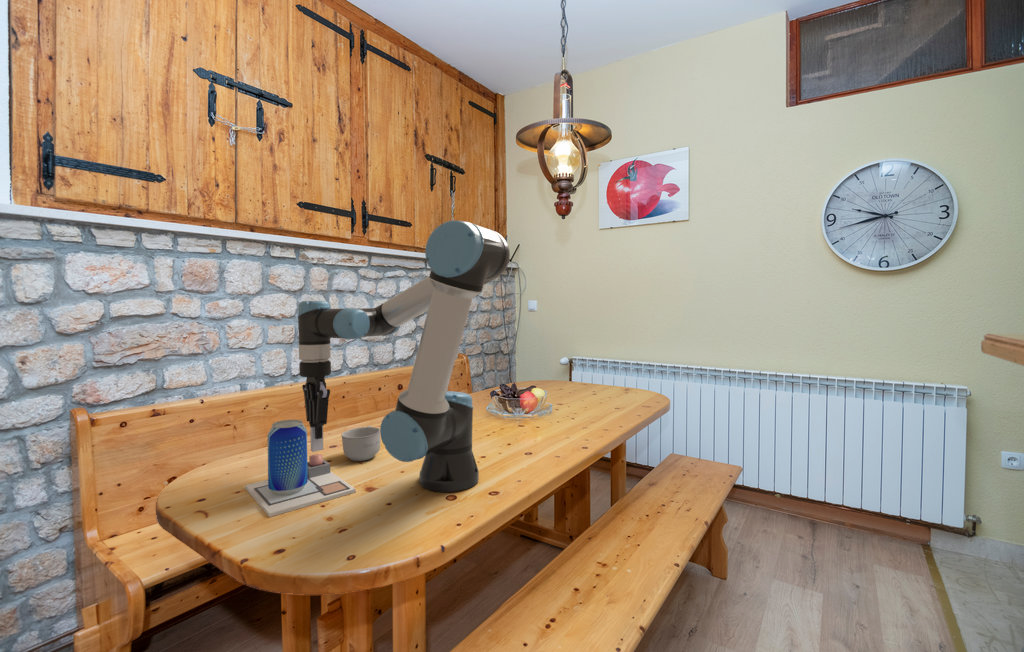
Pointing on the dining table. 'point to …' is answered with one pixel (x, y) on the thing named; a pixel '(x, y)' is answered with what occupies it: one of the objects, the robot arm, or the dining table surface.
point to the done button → (315, 460)
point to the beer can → (287, 457)
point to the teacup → (361, 443)
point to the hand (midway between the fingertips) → (317, 450)
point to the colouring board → (315, 491)
